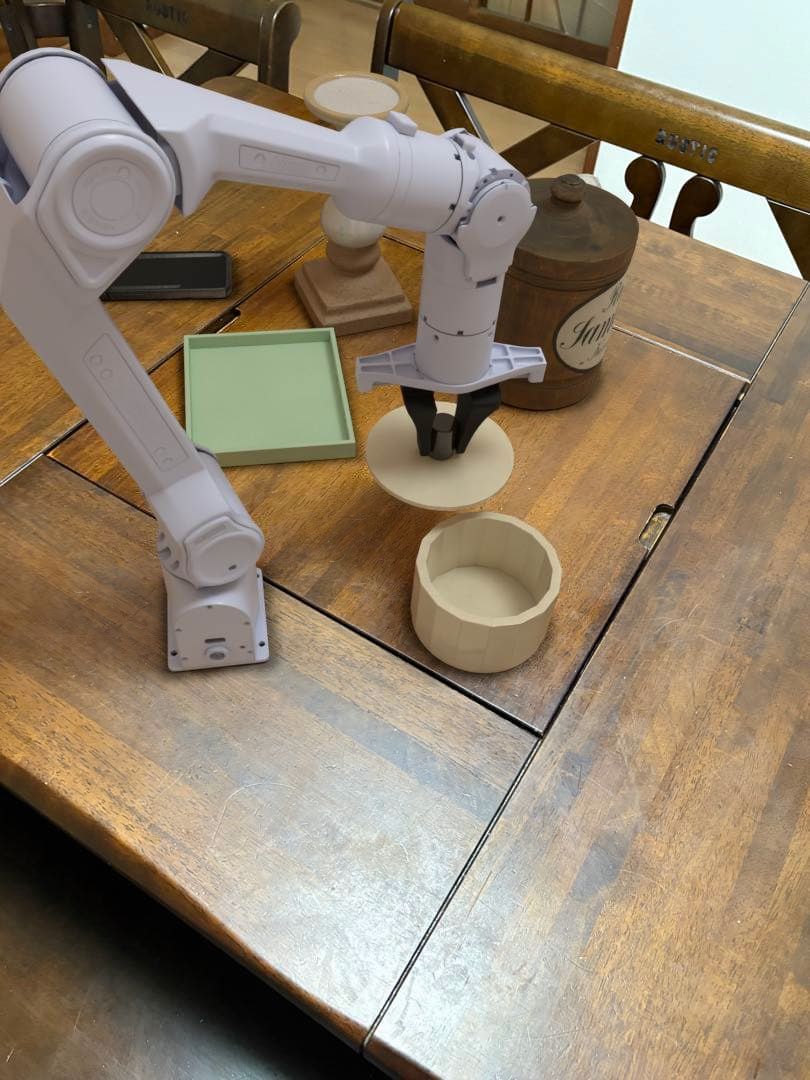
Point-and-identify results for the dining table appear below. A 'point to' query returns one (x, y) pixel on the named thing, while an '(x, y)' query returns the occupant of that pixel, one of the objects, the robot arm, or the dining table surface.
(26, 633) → the dining table surface
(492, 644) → the tin
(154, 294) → the phone
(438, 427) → the lid
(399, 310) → the candle holder
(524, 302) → the wooden container
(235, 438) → the tray
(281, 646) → the dining table surface
